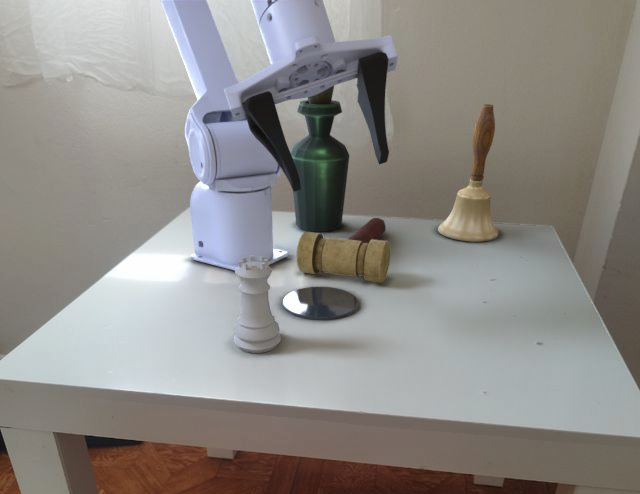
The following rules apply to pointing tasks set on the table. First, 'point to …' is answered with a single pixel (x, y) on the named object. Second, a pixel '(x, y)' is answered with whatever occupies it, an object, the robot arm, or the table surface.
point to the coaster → (320, 303)
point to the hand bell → (474, 190)
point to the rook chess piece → (255, 308)
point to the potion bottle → (320, 166)
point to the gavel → (347, 253)
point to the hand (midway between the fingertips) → (340, 172)
